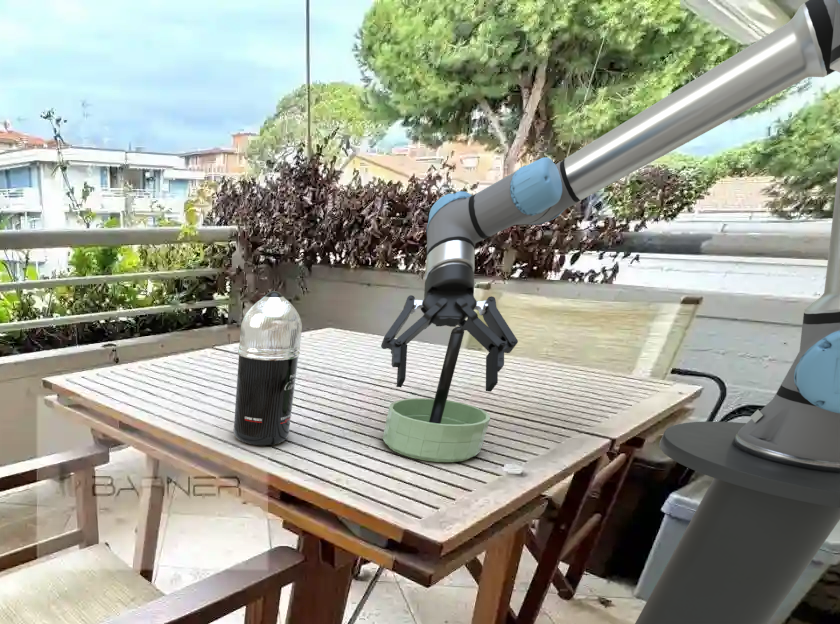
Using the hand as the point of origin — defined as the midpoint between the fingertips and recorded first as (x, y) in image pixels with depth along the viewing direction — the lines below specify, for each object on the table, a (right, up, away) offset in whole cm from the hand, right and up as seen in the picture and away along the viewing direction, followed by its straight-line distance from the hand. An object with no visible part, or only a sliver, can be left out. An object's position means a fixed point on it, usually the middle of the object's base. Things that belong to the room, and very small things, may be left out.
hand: (445, 385), depth 90 cm
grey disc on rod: (0, -9, +5) cm, 10 cm away
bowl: (0, -9, +5) cm, 11 cm away
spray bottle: (-28, -7, +11) cm, 31 cm away
